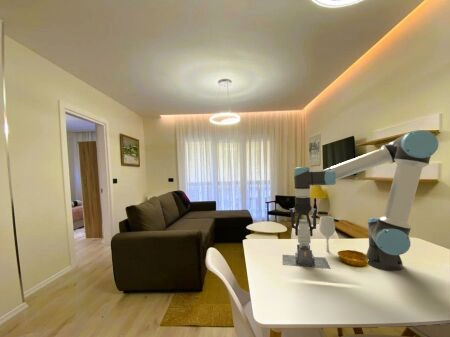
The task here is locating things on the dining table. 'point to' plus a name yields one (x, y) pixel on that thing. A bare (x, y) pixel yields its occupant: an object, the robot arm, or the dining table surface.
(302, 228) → the column
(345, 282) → the dining table surface
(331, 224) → the wineglass
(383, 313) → the dining table surface
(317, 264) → the stand base
